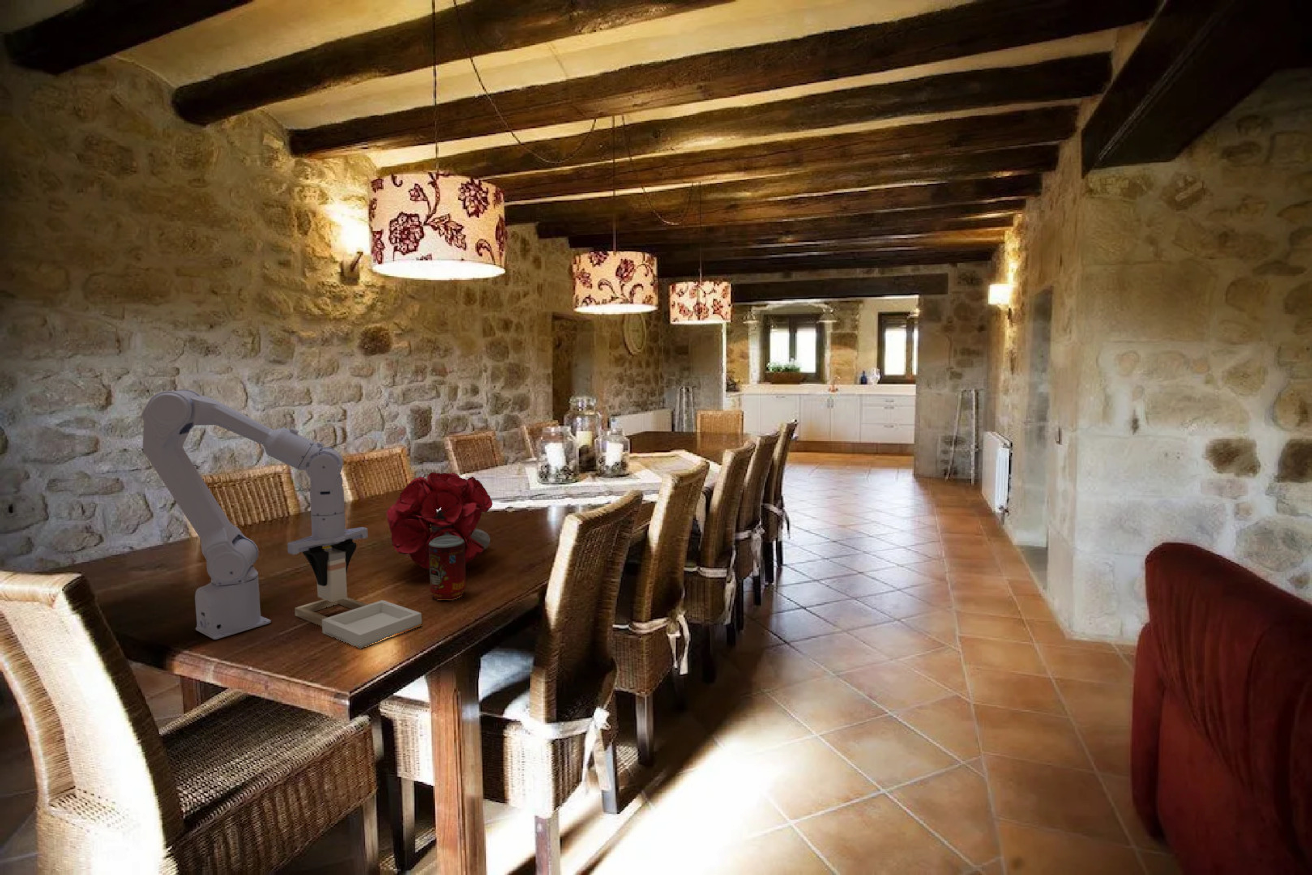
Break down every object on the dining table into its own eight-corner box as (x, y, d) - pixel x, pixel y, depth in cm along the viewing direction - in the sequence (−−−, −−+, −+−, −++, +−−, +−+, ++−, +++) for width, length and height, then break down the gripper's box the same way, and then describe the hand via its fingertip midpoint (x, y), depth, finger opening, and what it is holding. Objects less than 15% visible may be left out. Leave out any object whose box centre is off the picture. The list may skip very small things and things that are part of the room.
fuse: (331, 602, 124) (329, 555, 123) (317, 596, 126) (314, 551, 125) (347, 597, 126) (345, 551, 125) (333, 592, 129) (330, 547, 128)
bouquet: (430, 576, 170) (355, 546, 144) (459, 491, 179) (394, 448, 152) (503, 591, 164) (438, 563, 137) (530, 502, 172) (474, 459, 145)
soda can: (422, 599, 135) (420, 540, 133) (446, 588, 141) (445, 532, 140) (450, 604, 132) (448, 544, 131) (473, 593, 138) (471, 536, 137)
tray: (360, 649, 111) (360, 635, 111) (322, 632, 118) (321, 619, 117) (421, 626, 121) (421, 613, 121) (383, 612, 128) (382, 599, 127)
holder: (326, 628, 120) (325, 620, 120) (295, 615, 126) (294, 607, 126) (371, 613, 127) (371, 605, 127) (340, 601, 133) (339, 594, 133)
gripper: (300, 522, 116) (304, 597, 118) (375, 508, 128) (378, 576, 130) (280, 517, 120) (284, 589, 122) (354, 504, 132) (358, 569, 134)
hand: (331, 582), depth 126 cm, fingers closed on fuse, 3 cm apart
